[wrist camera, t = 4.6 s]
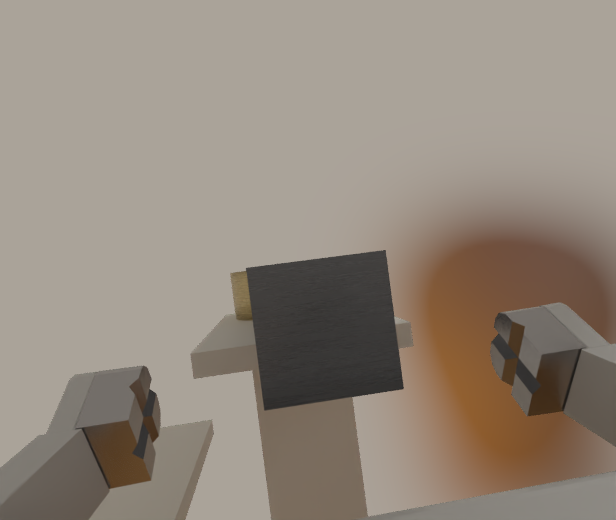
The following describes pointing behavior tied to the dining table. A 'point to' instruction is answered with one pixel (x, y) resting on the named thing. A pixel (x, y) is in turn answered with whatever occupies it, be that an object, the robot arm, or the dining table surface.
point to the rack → (275, 443)
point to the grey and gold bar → (321, 328)
